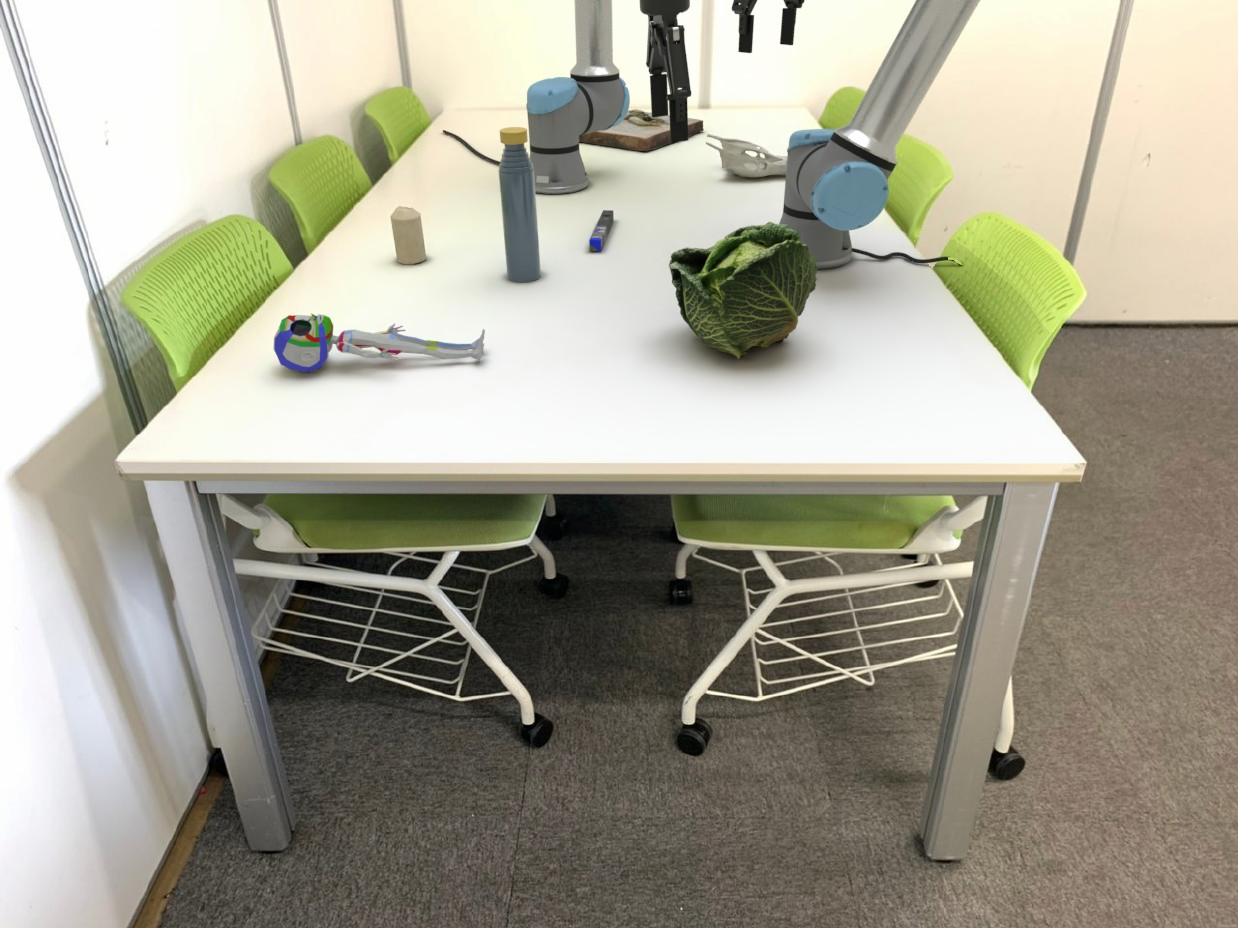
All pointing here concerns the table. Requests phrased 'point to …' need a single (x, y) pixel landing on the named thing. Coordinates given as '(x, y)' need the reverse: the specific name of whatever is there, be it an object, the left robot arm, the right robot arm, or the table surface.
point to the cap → (513, 135)
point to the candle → (408, 235)
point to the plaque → (639, 132)
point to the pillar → (601, 230)
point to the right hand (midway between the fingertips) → (669, 128)
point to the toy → (354, 343)
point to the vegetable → (744, 287)
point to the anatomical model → (748, 158)
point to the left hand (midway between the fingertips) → (766, 48)
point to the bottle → (519, 214)
